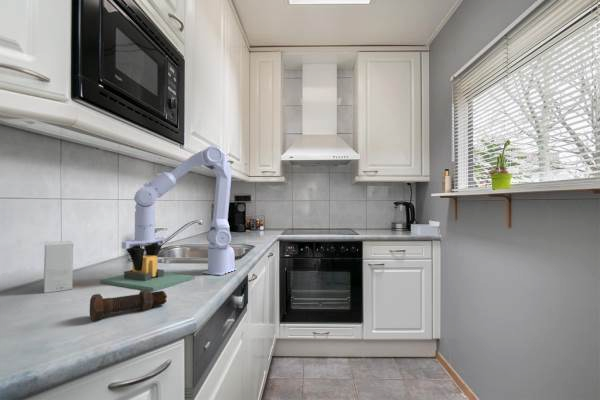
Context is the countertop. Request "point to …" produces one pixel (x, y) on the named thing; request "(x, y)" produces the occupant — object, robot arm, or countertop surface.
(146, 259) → the yellow arched block
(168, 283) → the board
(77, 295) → the countertop surface
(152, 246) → the robot arm
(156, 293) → the bolt
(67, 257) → the small box
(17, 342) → the countertop surface
